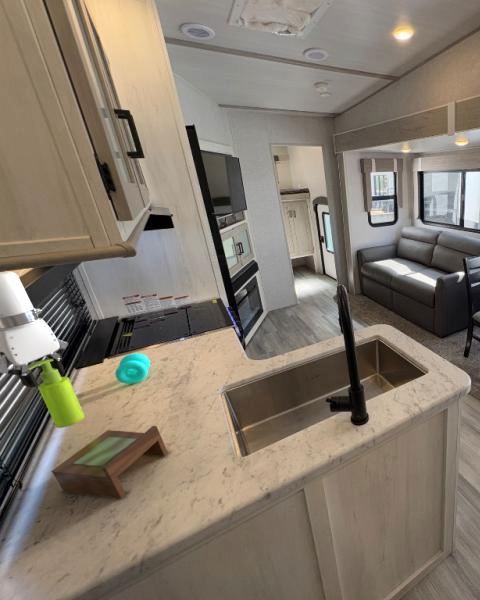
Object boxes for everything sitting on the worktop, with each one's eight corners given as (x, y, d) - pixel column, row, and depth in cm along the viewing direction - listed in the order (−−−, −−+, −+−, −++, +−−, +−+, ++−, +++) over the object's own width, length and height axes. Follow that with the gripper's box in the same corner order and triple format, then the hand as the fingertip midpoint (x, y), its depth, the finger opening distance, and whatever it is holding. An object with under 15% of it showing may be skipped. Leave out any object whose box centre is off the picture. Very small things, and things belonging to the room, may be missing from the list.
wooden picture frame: (63, 491, 80) (45, 462, 77) (117, 448, 93) (103, 421, 90) (121, 498, 78) (105, 468, 74) (168, 453, 90) (156, 425, 87)
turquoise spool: (153, 369, 136) (145, 349, 132) (150, 380, 128) (142, 359, 124) (125, 377, 131) (116, 356, 128) (120, 388, 123) (110, 367, 119)
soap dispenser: (46, 429, 87) (16, 366, 81) (75, 413, 94) (50, 354, 88) (60, 431, 86) (31, 368, 80) (89, 415, 92) (64, 356, 86)
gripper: (44, 307, 87) (70, 362, 93) (-46, 334, 71) (-7, 399, 77) (66, 307, 86) (91, 363, 92) (-21, 334, 70) (16, 400, 76)
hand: (46, 379), depth 85 cm, fingers closed on soap dispenser, 5 cm apart
